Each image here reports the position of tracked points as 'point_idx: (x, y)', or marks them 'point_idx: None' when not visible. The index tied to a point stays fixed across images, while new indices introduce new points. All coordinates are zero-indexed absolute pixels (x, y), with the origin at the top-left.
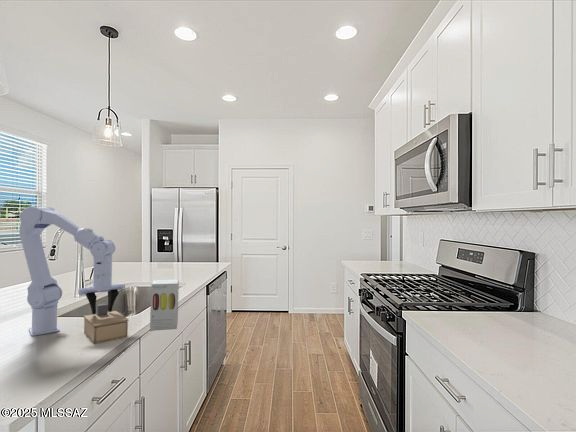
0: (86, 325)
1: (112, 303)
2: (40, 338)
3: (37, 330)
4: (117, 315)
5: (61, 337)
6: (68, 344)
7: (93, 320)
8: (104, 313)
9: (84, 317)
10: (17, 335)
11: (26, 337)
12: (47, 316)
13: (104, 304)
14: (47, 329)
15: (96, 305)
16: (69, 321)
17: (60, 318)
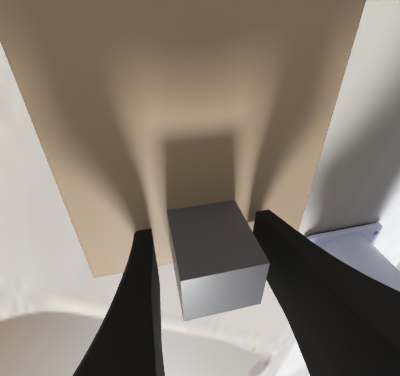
0: None
1: (130, 290)
2: (376, 190)
3: (370, 243)
4: (86, 134)
5: (333, 164)
6: (372, 25)
7: (313, 78)
8: (191, 215)
9: (298, 218)
10: (388, 247)
11: (389, 220)
12: (388, 284)
13: (205, 292)
14: (347, 242)
15: (257, 296)
16: (242, 315)
17: (251, 340)
